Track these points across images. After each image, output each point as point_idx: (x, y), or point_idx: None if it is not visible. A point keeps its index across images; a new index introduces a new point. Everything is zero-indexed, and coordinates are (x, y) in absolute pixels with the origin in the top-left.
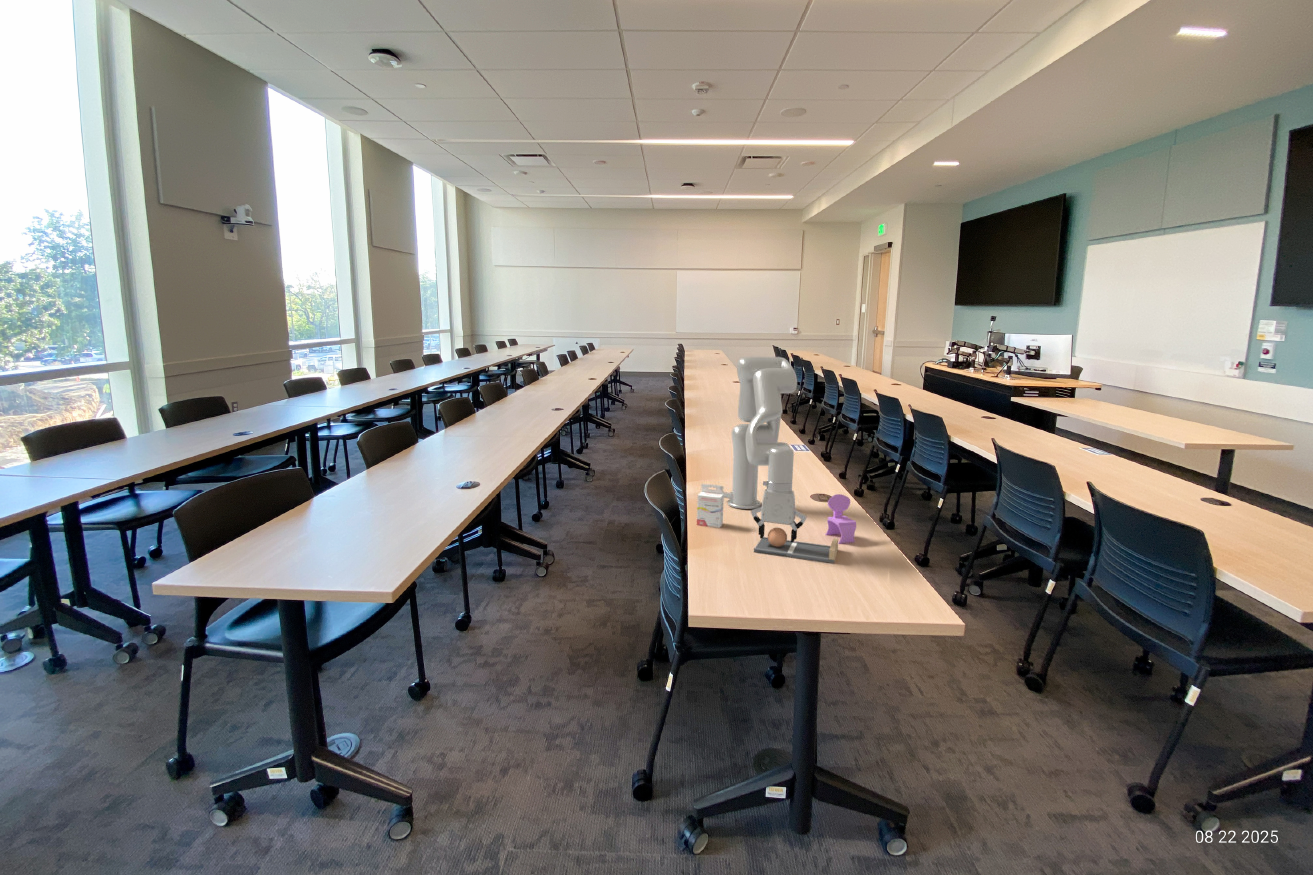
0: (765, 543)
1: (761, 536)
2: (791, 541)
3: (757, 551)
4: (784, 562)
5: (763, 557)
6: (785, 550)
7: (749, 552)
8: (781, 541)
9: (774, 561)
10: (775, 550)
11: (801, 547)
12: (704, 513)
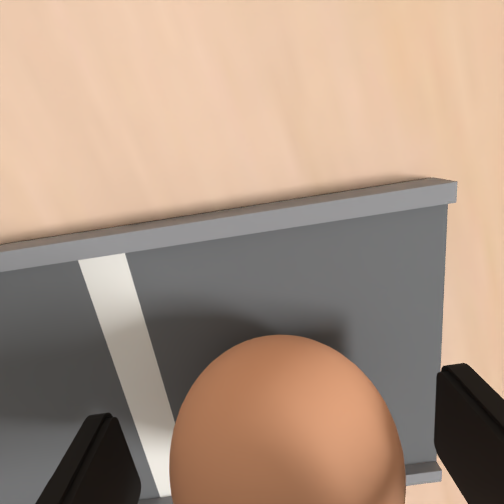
0: (380, 382)
1: (461, 378)
2: (101, 418)
3: (403, 184)
4: (70, 61)
5: (308, 84)
6: (168, 318)
7: (471, 147)
8: (204, 375)
9: (167, 28)
10: (248, 273)
11: None
12: None
